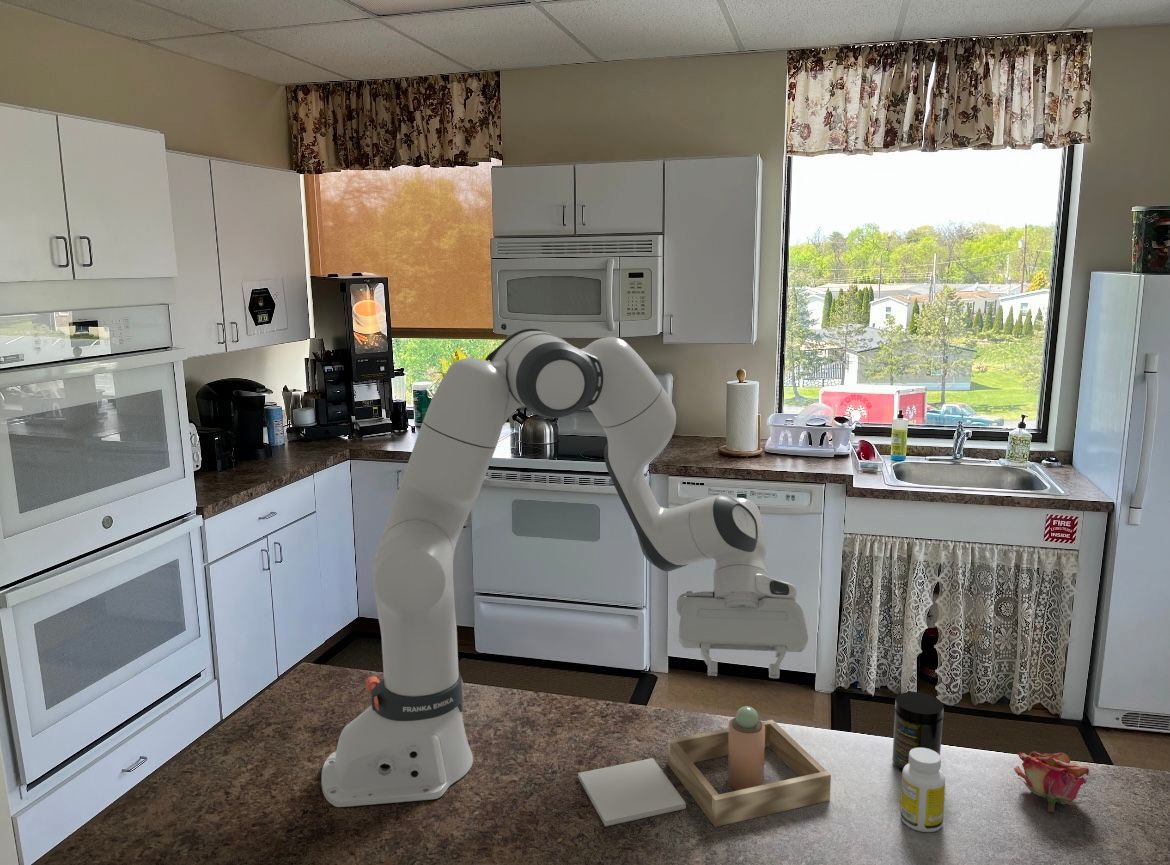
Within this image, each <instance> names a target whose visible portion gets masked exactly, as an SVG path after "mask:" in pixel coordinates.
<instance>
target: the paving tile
mask: <svg viewBox="0 0 1170 865" xmlns="http://www.w3.org/2000/svg"><path fill="white" fill-rule="evenodd" d="M577 775H578V776H577V778H578V781H579V782H580V784H581V786H582V787H583V789H584V791H585V793H586V795H587V796H588V798H589V800H590V801H591V804H592V805H593V807H594V809H595V811H596V813H597V815H598V816H599V818H600V820H601V822H602V823H603V825H604V827H610V826H613V825H619V824H622V823H627V822H632V821H636V820H640V819H644V818H648V817H653V816H658V815H663V814H667V813H672V812H675V811H680V810H685V809H687V802H686V801H685V800H684V799H683V797H682V796H681V795H680V793H679V792H678V790H677V789H676V788H675V786H674V785H673V783H672V782H671V781H670V780H669V778H668V776H667V775H666V774H665V773H664V771H663V770H662V768H661V767H660V765H659V764H658V762H656V760H655V759H654V758H653V757H650V758H646V759H640V760H636V761H631V762H627V763H626V762H625V763H621V764H617V765H611V766H610V765H609V766H606V767H599V768H597V769H596V768H595V769H591V770H587V771H586V770H585V771H582V772H581V771H579V772H578V773H577Z"/></svg>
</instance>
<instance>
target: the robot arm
mask: <svg viewBox="0 0 1170 865" xmlns="http://www.w3.org/2000/svg"><path fill="white" fill-rule="evenodd" d="M522 406H523V407H525V408H526V409H528V410H529V411H530V412H531V413H533V414H535V415H537V416H540V417H544V418H549V419H551V418H552V419H558V418H563V417H567V416H570V415H572V414H574V413H576V412H578V411H580V410H582V409H584V408H585V409H586V408H588V409H590V411H591V412H592V414H593V415H594V417H595V418H596V420H597V421H598V423H599V424H600V426H601V427H602V429H603V431H604V433H605V435H606V436H605V437H606V439H607V444H605V447H604V450H603V457H604V458H603V459H604V462H605V466H606V470H607V471H608V472H607V473H608V474H609V477H610V480H611V482H612V484H613V486H614V488H615V490H616V492H617V494H618V497H619V500H620V501H621V503H622V505H623V506H624V509H625V511H626V513H627V515H628V517H629V519H630V521H631V524H632V525H633V527H634V530H635V533H636V535H637V538H638V539H637V540H638V543H639V546H640V549H641V551H642V553H643V556H644V558H645V559H646V560H647V561H648V562H649V563H650V564H651V565H653V566H654V567H656V568H658V569H659V570H661V571H664V572H672V571H674V570H677V569H680V568H683V567H686V566H688V565H690V564H694V563H699V562H702V561H703V562H704V561H706V560H710V559H713V560H715V568H714V570H713V591H706V590H705V591H704V590H703V591H695V590H687V591H686V592H685V593H682V594H681V595H679V597H678V598H677V601H676V611H677V614H678V615H679V616H680V618H679V626H678V643H679V644H680V645H681V647H683V648H685V649H700V656H701V657H702V659H703V661H704V663H705V664H706V665H707V676H708V677H710V676H712V677H713V676H715V677H717V676H718V661H713V660H712V658H711V656H710V654H711V653H710V651H711V650H731V651H735V650H736V651H739V650H740V651H755V652H756V651H757V652H759V651H762V652H774V654H775V658H777V659H776V661H775V662H774V663H769V666H768V677H769V679H780V675H781V674H780V668H781V665H782V664H783V661H784V660H785V657H786V654H787V653H803V651H804V650H806V648H807V646H808V643H809V634H808V627H807V626H808V625H807V622H806V617H805V613H804V609H803V607H802V605H801V604H800V603H799V602H798V601H797V597H798V596H797V595H798V594H797V588H796V586H795V585H794V584H792V583H789V582H785V581H782V580H780V579H776V578H772V577H770V576H768V571H767V569H766V565H765V560H766V559H765V558H766V555H767V542H766V533H765V526H764V522H763V518H762V514H761V511H760V509H759V507H758V506H757V505H756V503H754V502H753V501H752V500H750V499H747V498H743V497H736V496H735V497H731V496H729V495H727V494H719V495H712V496H709V497H704V498H702V499H698V500H695V501H694V502H689V503H685V504H682V505H679V506H676V507H672V508H666V507H663V506H660V505H659V503H658V502H657V500H656V497H655V495H654V493H653V491H652V489H651V487H650V484H649V482H648V480H647V478H646V475H645V473H644V469H645V467H646V466H647V465H649V464H650V463H651V462H652V461H653V460H654V459H656V458H657V457H658V456H659V455H660V454H662V451H664V449H665V448H666V446H667V445H668V444H669V442H670V440H671V439H672V437H673V435H674V432H675V429H676V426H677V425H676V424H677V412H676V408H675V406H674V403H673V401H672V400H671V398H670V396H669V395H668V393H667V391H666V390H665V388H664V387H663V385H662V384H661V382H660V381H659V378H657V376H656V375H655V373H654V372H653V371H652V369H651V367H649V365H648V364H647V363H646V362H645V361H644V359H643V358H642V357H641V356H640V355H639V354H638V353H637V351H636V350H635V349H634V348H632V347H631V345H630V344H628V342H626V340H624V339H621V338H619V337H615V336H606V337H602V338H599V339H596V340H594V341H592V342H591V343H589V344H588V345H587V346H585V347H583V348H578V347H576V346H574V345H572V344H570V343H569V342H567V341H566V340H565V339H564V338H562V337H560V336H559V335H556V334H554V333H551V332H548V331H544V330H543V329H538V328H526V329H521V330H518V331H516V332H514V333H512V334H511V335H509V336H508V337H507V338H505V339H504V341H503V342H501V343H500V345H498V347H496V348H495V349H494V350H493V351H491V352H490V353H489V354H488V355H487V356H486V358H485V359H482V358H478V357H466V358H461V359H458V360H456V361H454V362H453V363H452V364H451V365H450V367H448V369H447V371H446V372H445V374H444V376H443V377H442V379H441V380H440V383H439V384H438V386H437V388H436V390H435V393H434V394H433V396H432V398H431V401H430V403H429V405H428V407H427V410H426V413H425V415H424V418H423V420H422V423H421V426H420V429H419V431H418V434H417V437H416V440H415V442H414V445H413V448H412V451H411V453H410V456H409V460H408V462H407V465H406V468H405V471H404V473H403V475H402V479H401V482H400V485H399V487H398V490H397V493H396V495H395V498H394V501H393V504H392V507H391V510H390V512H389V515H388V518H387V520H386V524H385V526H384V529H383V532H382V535H381V537H380V540H379V544H378V546H377V549H376V553H375V556H374V558H373V561H372V569H371V571H372V580H373V582H372V583H373V591H374V598H375V599H374V600H375V606H376V611H377V613H376V614H377V618H378V623H379V627H380V628H379V630H380V636H381V653H382V666H383V667H382V668H383V669H382V670H383V679H382V680H380V679H379V678H378V677H377V676H376V675H375V676H374V675H373V676H369V677H367V679H366V682H365V685H366V690H367V692H368V693H369V694H370V702H371V704H370V706H369V707H367V708H366V709H365V710H364V711H363V712H361V713H360V714H359V715H358V716H356V717H355V718H354V719H352V721H349V722H348V723H347V724H346V725H345V727H343V729H342V730H341V733H340V734H339V738H338V742H337V746H336V750H335V751H334V752H331V754H329V756H328V757H327V758H326V760H325V761H324V764H322V765H323V766H322V769H321V790H322V794H323V796H324V798H325V799H326V801H327V802H329V804H331V805H332V806H334V807H335V808H345V807H357V806H358V807H359V806H368V805H370V806H371V805H380V804H381V805H383V804H392V803H404V802H406V803H407V802H415V801H416V802H417V801H428V800H436V799H440V798H441V797H442V796H443V795H445V793H446V791H447V790H448V789H449V787H450V786H451V785H453V784H454V783H456V782H457V781H460V780H461V779H462V778H463V777H464V776H465V775H466V774H467V773H468V772H469V771H470V770H471V768H472V766H473V763H474V755H473V753H472V750H471V748H470V745H469V742H468V738H467V733H466V730H465V724H464V719H463V709H464V708H463V707H464V686H463V685H464V682H463V678H462V675H461V672H460V671H459V657H458V656H459V653H458V652H459V651H458V630H457V629H458V628H457V627H458V626H457V618H456V617H457V616H456V604H455V587H454V585H455V584H454V558H455V557H454V556H455V552H456V551H455V550H456V548H457V547H456V546H457V544H458V540H459V538H460V535H461V533H462V531H463V528H464V527H465V524H466V522H467V519H468V518H469V514H470V513H471V510H472V508H473V507H474V505H475V502H476V500H477V499H478V497H479V494H480V491H481V489H482V487H483V486H482V485H483V483H484V480H485V477H486V475H487V472H488V470H489V466H490V465H491V462H492V459H493V456H494V453H495V451H496V447H497V445H498V442H499V440H500V437H501V434H502V430H503V426H505V424H506V422H507V421H508V419H509V418H510V417H511V415H512V414H513V413H514V412H516V411H517V409H520V408H521V407H522Z"/></svg>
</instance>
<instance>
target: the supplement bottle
mask: <svg viewBox="0 0 1170 865" xmlns="http://www.w3.org/2000/svg"><path fill="white" fill-rule="evenodd" d="M941 763H942V758H941V754H940V755H939V754H938V753H937V752H935V751H933V750H931V749H927V748H914V749H911V750H910V752H909V763H908V764H907V765H905V767H904V768H903V772H902V774H901V776H902V777H901V793H900V795H901V796H900V811H899V812H900V813H899V814H900V819H901V821H902V823H904V824H905V825H906V826H907V827H909V828H910V829H912V830H914V831H918V832H923V833H933V832H937V831H939V830H940V829H941V828H942V826H943V822H944V810H945V808H944V807H945V795H946V794H945V793H946V792H945V791H946V777H945V774H944V772H943V771H942V769H941V766H942V764H941Z"/></svg>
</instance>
